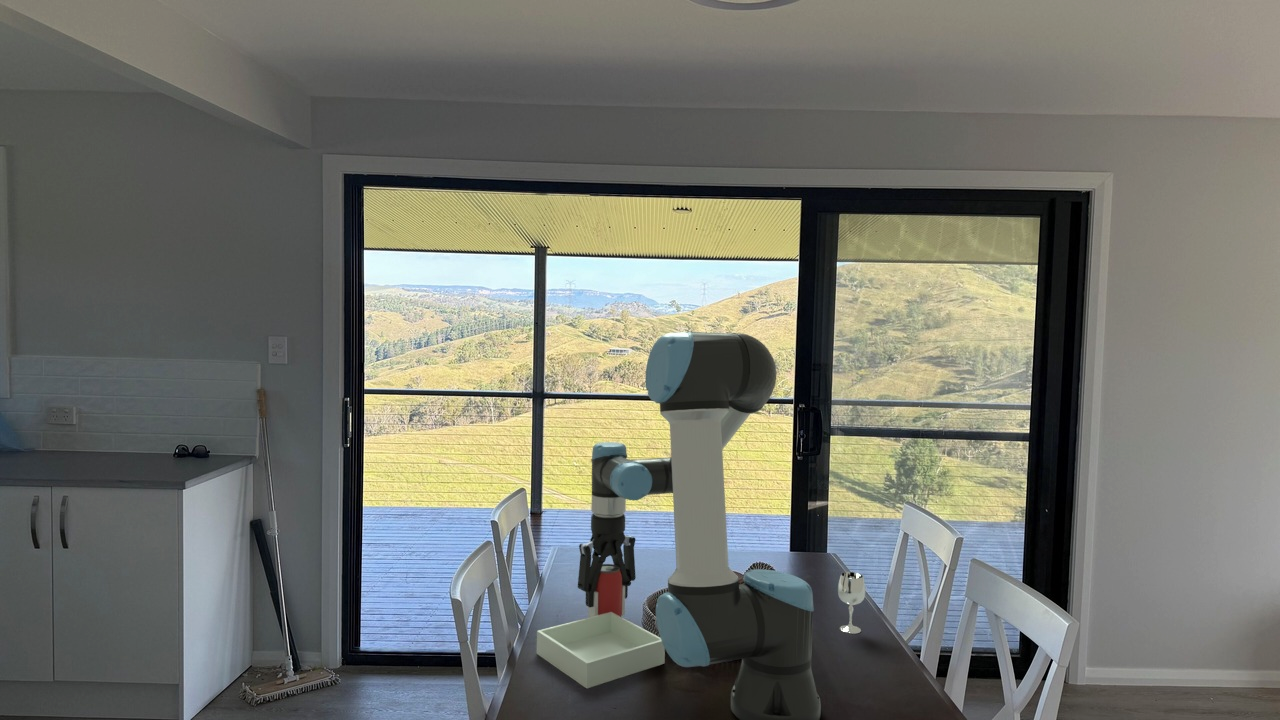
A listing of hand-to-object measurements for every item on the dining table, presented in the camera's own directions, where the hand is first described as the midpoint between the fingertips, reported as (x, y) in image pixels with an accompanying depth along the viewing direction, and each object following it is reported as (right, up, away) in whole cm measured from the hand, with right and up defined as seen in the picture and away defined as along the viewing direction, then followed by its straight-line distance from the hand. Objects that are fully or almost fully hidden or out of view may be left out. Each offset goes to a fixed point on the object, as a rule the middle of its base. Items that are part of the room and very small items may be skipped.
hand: (606, 616), depth 170 cm
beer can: (0, -1, 0) cm, 1 cm away
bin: (-1, -2, -19) cm, 19 cm away
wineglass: (+53, -2, -2) cm, 53 cm away
